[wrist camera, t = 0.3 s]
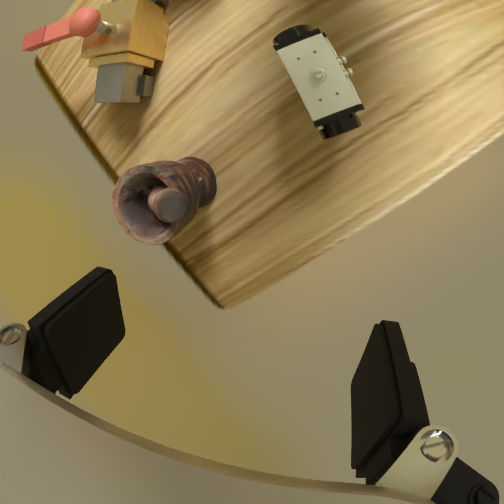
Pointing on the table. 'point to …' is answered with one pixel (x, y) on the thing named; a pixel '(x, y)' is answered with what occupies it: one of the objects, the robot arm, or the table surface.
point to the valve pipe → (126, 48)
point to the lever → (64, 29)
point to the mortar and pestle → (162, 197)
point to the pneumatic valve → (320, 79)
